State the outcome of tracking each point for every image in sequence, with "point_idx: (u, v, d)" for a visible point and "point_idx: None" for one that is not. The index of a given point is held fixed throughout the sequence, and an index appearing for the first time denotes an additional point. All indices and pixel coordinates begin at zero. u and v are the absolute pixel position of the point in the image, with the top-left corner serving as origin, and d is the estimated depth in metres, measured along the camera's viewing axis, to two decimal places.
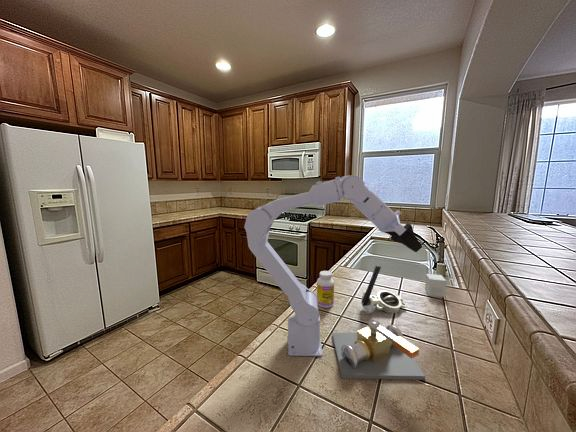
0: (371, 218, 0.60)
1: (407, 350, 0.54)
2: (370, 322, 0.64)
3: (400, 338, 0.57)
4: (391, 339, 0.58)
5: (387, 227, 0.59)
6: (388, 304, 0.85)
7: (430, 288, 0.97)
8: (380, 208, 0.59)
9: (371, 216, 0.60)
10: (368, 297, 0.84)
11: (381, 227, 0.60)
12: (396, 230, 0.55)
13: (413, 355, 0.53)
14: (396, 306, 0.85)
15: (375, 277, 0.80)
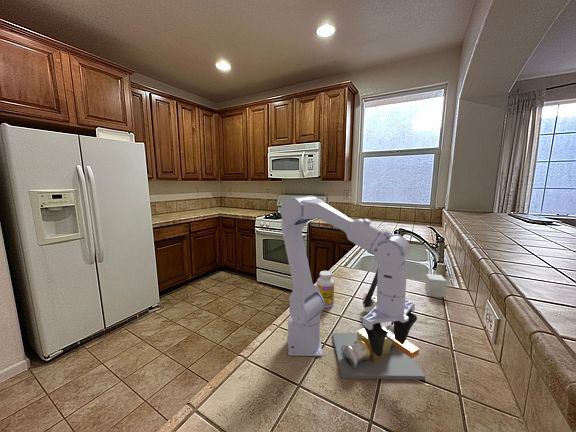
0: (377, 290, 0.53)
1: (407, 350, 0.54)
2: None
3: None
4: (391, 339, 0.58)
5: (376, 311, 0.52)
6: None
7: (430, 288, 0.97)
8: (386, 295, 0.49)
9: (377, 289, 0.52)
10: (370, 298, 0.83)
11: (376, 305, 0.53)
12: (363, 319, 0.49)
13: (413, 355, 0.53)
14: None
15: None
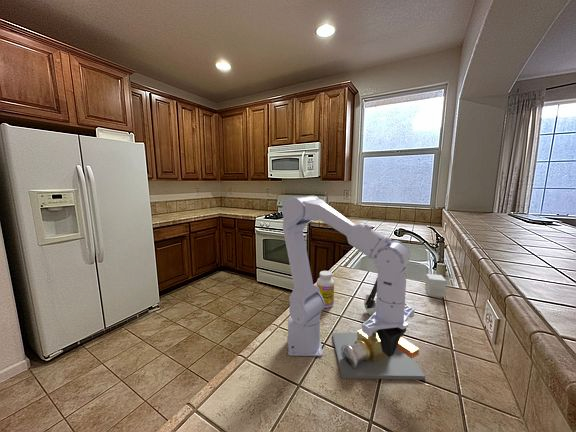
0: None
1: (407, 350, 0.54)
2: None
3: (400, 338, 0.57)
4: None
5: (376, 317, 0.52)
6: None
7: (430, 288, 0.97)
8: (385, 301, 0.49)
9: None
10: (372, 299, 0.82)
11: (376, 311, 0.53)
12: (363, 325, 0.49)
13: (413, 355, 0.53)
14: None
15: None
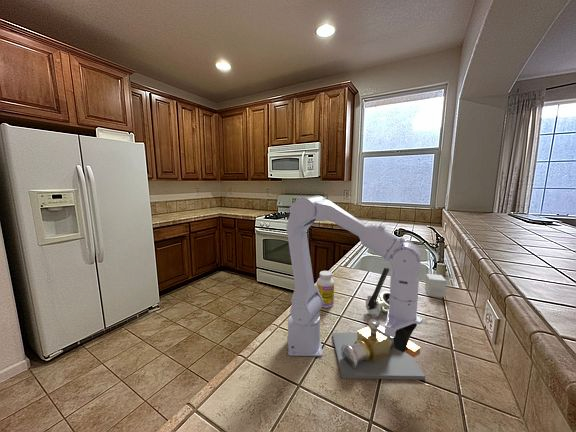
0: (390, 296, 0.54)
1: (409, 349, 0.54)
2: (370, 322, 0.64)
3: None
4: (392, 339, 0.58)
5: (391, 316, 0.53)
6: None
7: (430, 288, 0.97)
8: (403, 300, 0.51)
9: (391, 295, 0.53)
10: (375, 300, 0.81)
11: (389, 310, 0.54)
12: (386, 327, 0.49)
13: (415, 354, 0.53)
14: None
15: (383, 280, 0.78)
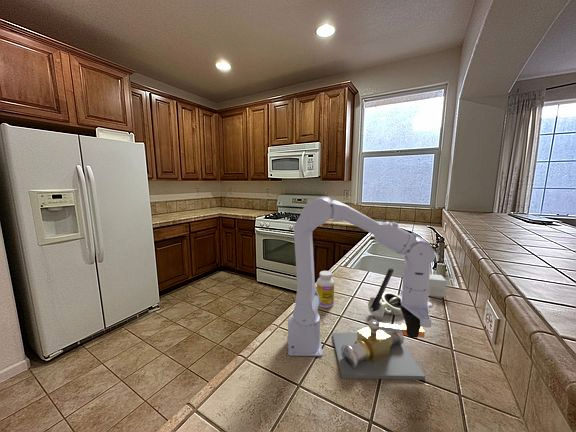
0: (407, 289, 0.57)
1: (419, 332, 0.60)
2: (372, 324, 0.63)
3: (404, 325, 0.62)
4: (399, 330, 0.61)
5: (412, 308, 0.56)
6: (395, 306, 0.83)
7: (430, 288, 0.97)
8: (424, 290, 0.55)
9: (409, 288, 0.56)
10: (378, 302, 0.80)
11: (407, 303, 0.57)
12: (423, 320, 0.52)
13: None
14: None
15: (387, 281, 0.77)
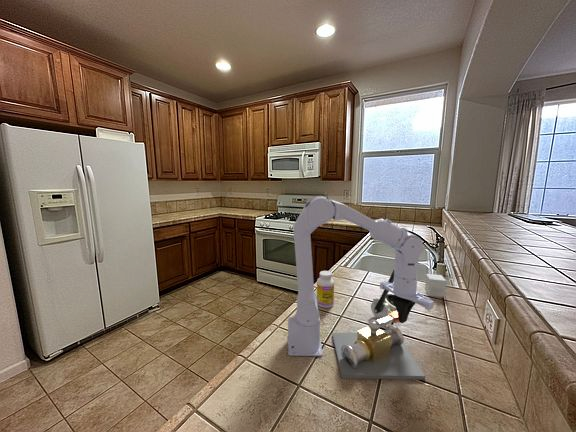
0: (405, 281, 0.62)
1: None
2: (375, 324, 0.63)
3: (391, 314, 0.68)
4: (392, 320, 0.66)
5: (411, 296, 0.62)
6: None
7: (430, 288, 0.97)
8: None
9: (408, 279, 0.61)
10: (382, 303, 0.79)
11: (405, 293, 0.62)
12: (429, 304, 0.58)
13: None
14: None
15: (392, 282, 0.76)
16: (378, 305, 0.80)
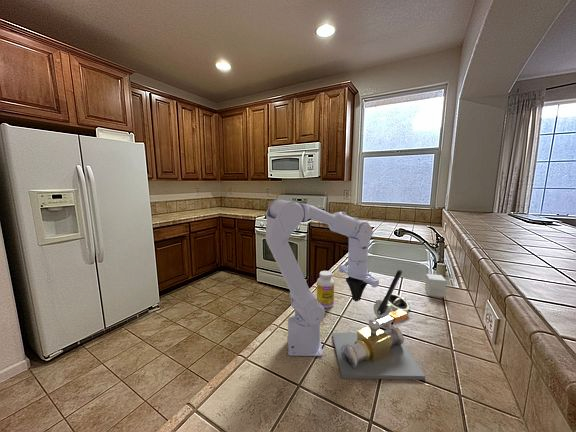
0: (356, 263, 0.70)
1: (404, 315, 0.68)
2: (375, 324, 0.63)
3: (391, 314, 0.68)
4: (392, 320, 0.66)
5: (361, 276, 0.70)
6: (400, 307, 0.82)
7: (430, 288, 0.97)
8: (366, 260, 0.71)
9: (358, 261, 0.70)
10: (386, 305, 0.78)
11: (356, 274, 0.70)
12: (375, 282, 0.67)
13: None
14: (407, 308, 0.83)
15: (396, 283, 0.75)
16: (381, 306, 0.79)
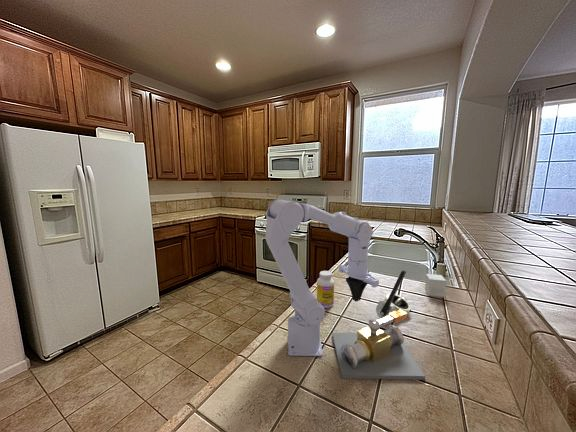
0: (356, 263, 0.70)
1: (404, 315, 0.68)
2: (375, 324, 0.63)
3: (391, 314, 0.68)
4: (392, 320, 0.66)
5: (361, 276, 0.70)
6: (402, 308, 0.82)
7: (430, 288, 0.97)
8: (366, 260, 0.71)
9: (358, 261, 0.70)
10: (389, 305, 0.78)
11: (356, 274, 0.70)
12: (375, 282, 0.67)
13: None
14: (408, 308, 0.83)
15: (400, 283, 0.75)
16: (385, 307, 0.78)
